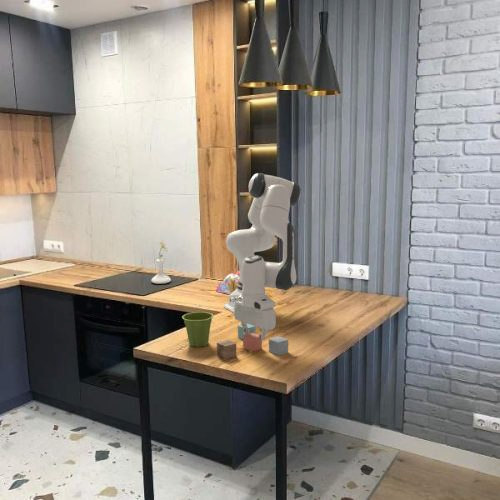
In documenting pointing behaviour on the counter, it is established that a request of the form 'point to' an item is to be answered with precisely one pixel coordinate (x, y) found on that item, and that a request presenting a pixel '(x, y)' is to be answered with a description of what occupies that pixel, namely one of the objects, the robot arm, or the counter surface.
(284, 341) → the slate grey block
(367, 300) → the counter surface
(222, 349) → the walnut block
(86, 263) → the counter surface
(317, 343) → the counter surface
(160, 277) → the flower in vase
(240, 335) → the muted teal block
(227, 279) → the candy landscape model
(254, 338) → the brick-red block
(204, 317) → the plant pot
